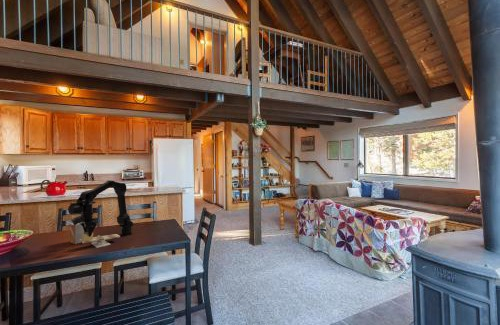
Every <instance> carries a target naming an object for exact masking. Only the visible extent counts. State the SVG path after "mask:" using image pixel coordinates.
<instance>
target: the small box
mask: <svg viewBox="0 0 500 325" xmlns="http://www.w3.org/2000/svg"><path fill="white" fill-rule="evenodd" d="M68 225H69V226H68V228H69V233H68V234H69V236H68V237H69V238H68V239H69V242H68V243H71V244H75V245H77V243H78V244H82V243H81V242H80V239H82V233H83V232H84V230H83V227H82V225H80V224H79V223H78V224H76V225H74V224H73V223H72V222H71V223H69V224H68Z"/></svg>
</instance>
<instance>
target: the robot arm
mask: <svg viewBox="0 0 500 325" xmlns="http://www.w3.org/2000/svg"><path fill="white" fill-rule="evenodd" d="M109 188H112V189H113V191H114V193H115V194H116V197H117V205H118V213H119V214H118V216H116V223H117V224H118V225H119V227H120V236H123V237H125V236H129V235H132V234H133V233H132V227H133V226H134V222H133V221H132V220H131V218H130V215H129V213H128V212H127V204H126V193H127V184H126V183H124V182H119V181H114V180H107V181H105V182H104V183H101V184H100V185H98V186H96V187H95V188H92V189H89V190H85V191H82V192H81V193H80V196H78V199H77V200H76V201H75V202H71V203H70V204H69V205H68V208H67V211H68V214H69V215H75V214H80V215H78V216H76V217H73V218H72V219H71V220H70V221H71V223H73V224H74V225H76V224H78V223H79V224H80V225H82V227H83V230H84V232H88V236H89V237H91V235H92V233H93V234H94V230H95V229H96V227H97V226H98V222H97V221H95V219H94V218H93V215H94V210H93V205H94V204H96V201H95V200H94V199H95V198H97V196H98V195H99V194H101V193H103V192H105V191H106V190H108V189H109Z"/></svg>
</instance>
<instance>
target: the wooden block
mask: <svg viewBox="0 0 500 325" xmlns="http://www.w3.org/2000/svg"><path fill="white" fill-rule="evenodd" d="M93 237H94V232H93V233H92V235H91V237H89V236H88V232H83V233H82V240H83V241H88V240H93Z"/></svg>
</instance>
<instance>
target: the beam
mask: <svg viewBox="0 0 500 325" xmlns="http://www.w3.org/2000/svg"><path fill="white" fill-rule="evenodd" d="M102 238H104V240H105V241H107V240H112V239H118V238H121V235H119V234H117V233H114V234H107V235H100V237H97V236H93V240H88V241H83V240H82V239H80V242H82V243H81V244H87V243H93V242H96V241H101V240H102Z"/></svg>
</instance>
